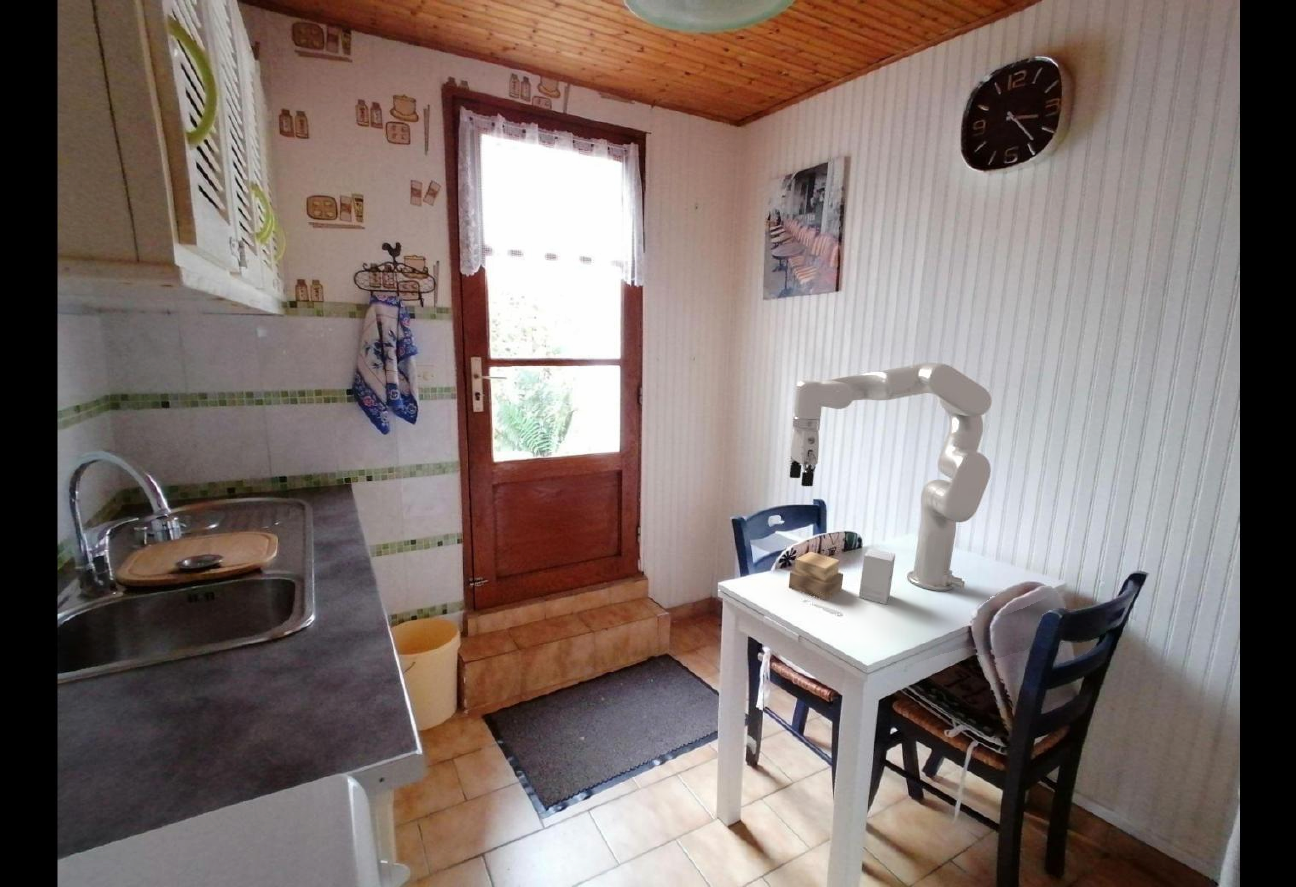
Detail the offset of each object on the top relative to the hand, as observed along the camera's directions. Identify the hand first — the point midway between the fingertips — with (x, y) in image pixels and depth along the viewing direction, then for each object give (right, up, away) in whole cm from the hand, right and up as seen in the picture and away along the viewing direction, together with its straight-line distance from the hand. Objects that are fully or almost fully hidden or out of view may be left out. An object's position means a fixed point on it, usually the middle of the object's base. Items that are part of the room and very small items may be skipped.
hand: (800, 481), depth 164 cm
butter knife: (-3, -32, -11) cm, 34 cm away
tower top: (+4, -26, -3) cm, 26 cm away
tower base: (+3, -31, -3) cm, 31 cm away
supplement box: (+19, -32, -6) cm, 38 cm away
